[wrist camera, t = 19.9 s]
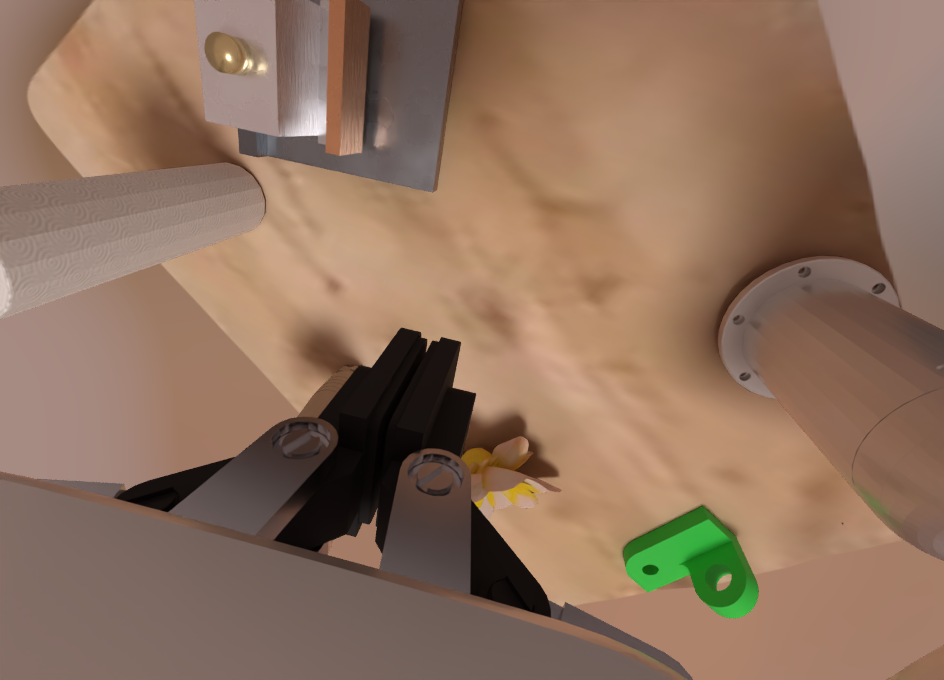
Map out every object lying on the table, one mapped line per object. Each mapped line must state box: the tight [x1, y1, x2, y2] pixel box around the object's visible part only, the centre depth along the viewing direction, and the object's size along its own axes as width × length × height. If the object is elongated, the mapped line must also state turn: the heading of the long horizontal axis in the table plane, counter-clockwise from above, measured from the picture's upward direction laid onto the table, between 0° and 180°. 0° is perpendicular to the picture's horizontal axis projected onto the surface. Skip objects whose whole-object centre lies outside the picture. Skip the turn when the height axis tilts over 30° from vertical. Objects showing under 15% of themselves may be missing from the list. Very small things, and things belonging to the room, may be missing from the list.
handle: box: [298, 365, 358, 418], centre depth 39 cm, size 5×6×15 cm
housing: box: [194, 0, 320, 137], centre depth 28 cm, size 5×8×8 cm, turn 169°
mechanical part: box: [623, 506, 759, 618], centre depth 46 cm, size 12×6×8 cm, turn 137°
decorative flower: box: [461, 436, 561, 519], centre depth 44 cm, size 15×11×10 cm
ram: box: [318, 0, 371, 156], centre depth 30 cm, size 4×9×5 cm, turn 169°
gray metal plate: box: [238, 0, 464, 192], centre depth 32 cm, size 16×13×3 cm
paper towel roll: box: [0, 162, 265, 319], centre depth 30 cm, size 7×6×21 cm
